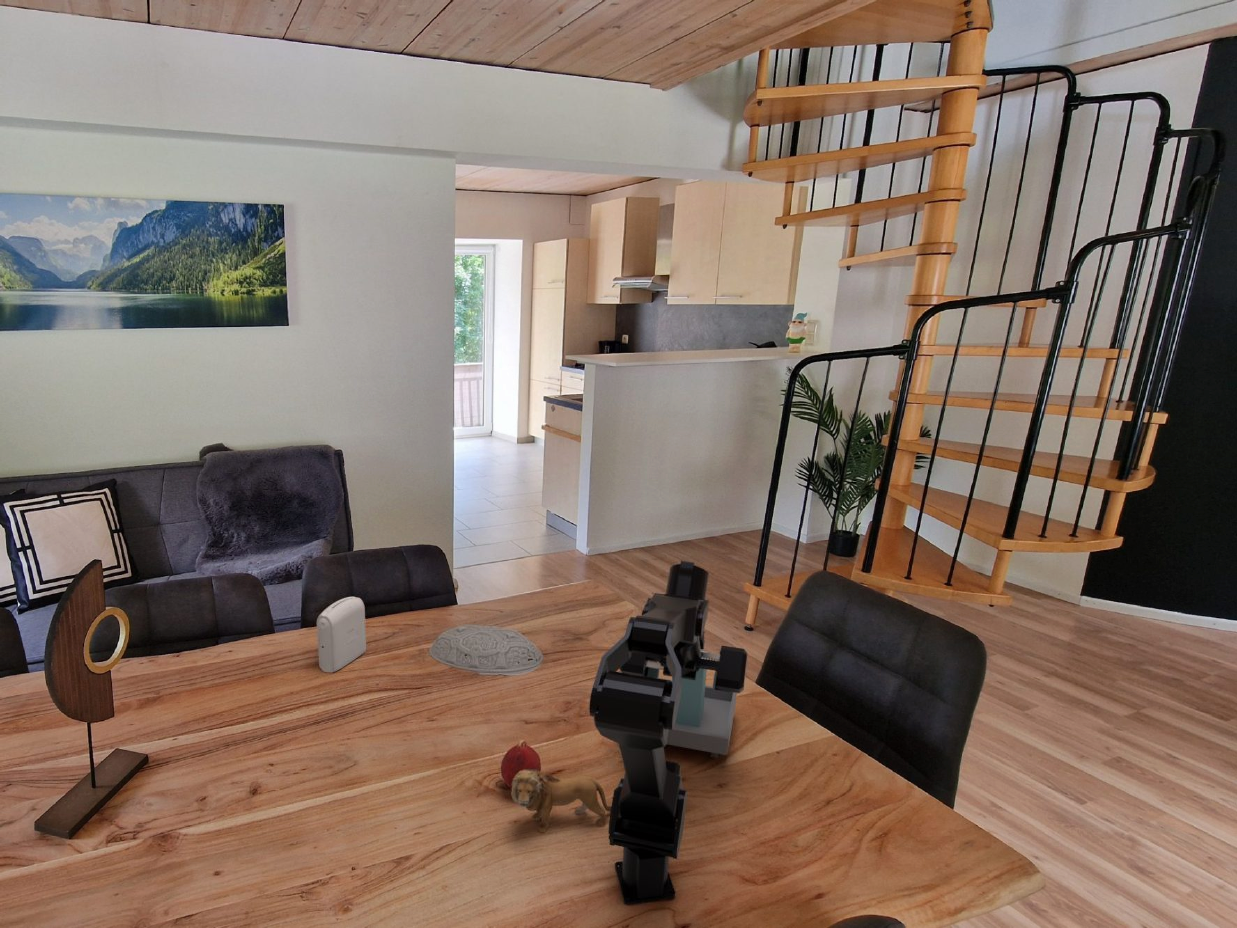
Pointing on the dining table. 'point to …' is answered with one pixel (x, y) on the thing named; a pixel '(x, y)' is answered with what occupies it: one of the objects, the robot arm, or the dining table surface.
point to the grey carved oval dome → (486, 650)
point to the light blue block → (692, 699)
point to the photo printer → (341, 634)
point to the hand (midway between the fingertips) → (686, 678)
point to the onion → (519, 761)
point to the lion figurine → (557, 794)
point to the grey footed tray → (708, 725)
